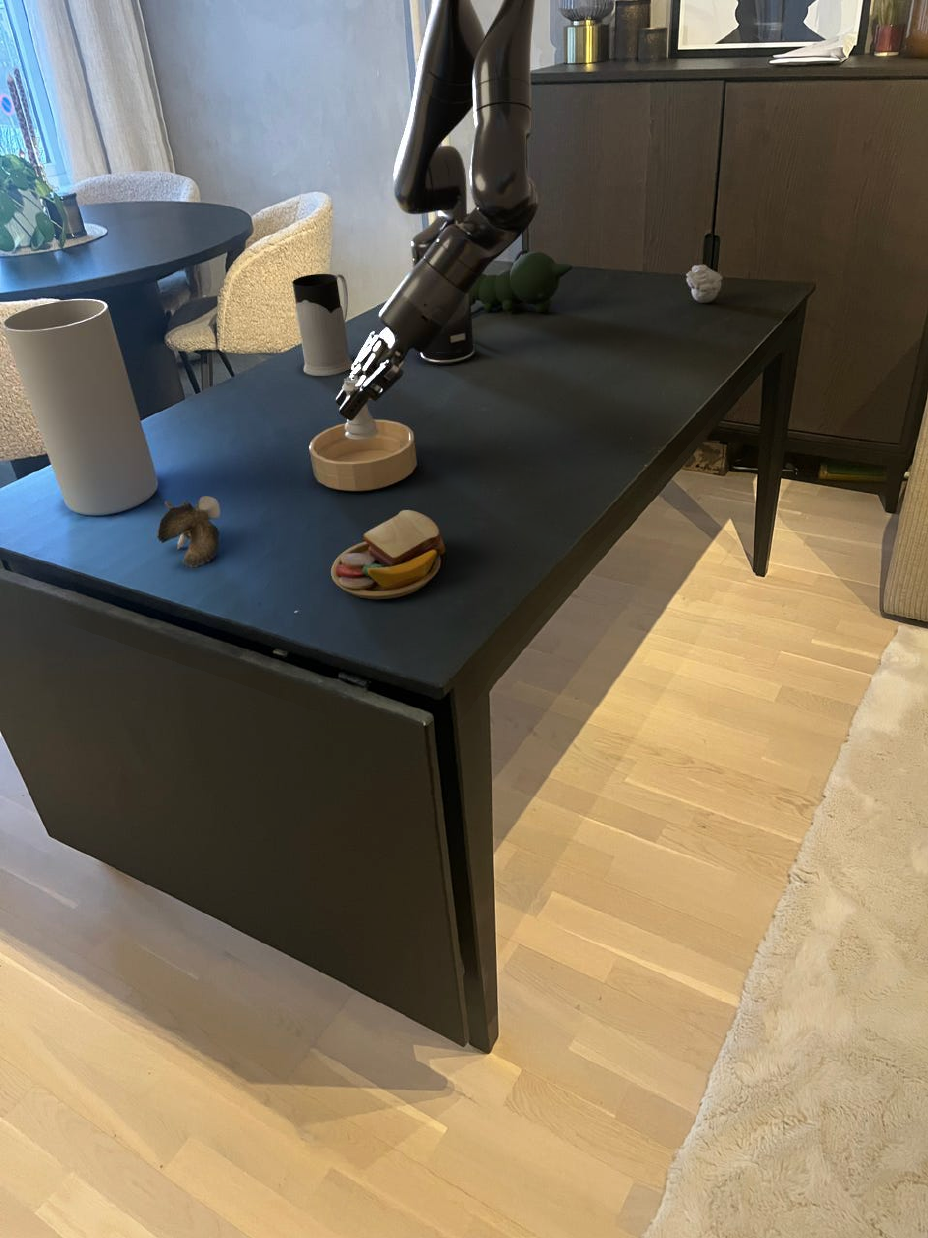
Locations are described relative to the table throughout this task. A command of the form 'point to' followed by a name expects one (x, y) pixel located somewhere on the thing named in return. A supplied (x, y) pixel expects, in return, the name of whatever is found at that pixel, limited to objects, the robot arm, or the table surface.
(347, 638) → the table surface
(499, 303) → the toy figurine
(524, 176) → the robot arm
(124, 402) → the cylinder vase
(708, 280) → the white lumpy rounded piece
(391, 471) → the bowl
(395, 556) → the toy sandwich meal
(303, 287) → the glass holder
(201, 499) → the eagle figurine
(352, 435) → the rook chess piece
